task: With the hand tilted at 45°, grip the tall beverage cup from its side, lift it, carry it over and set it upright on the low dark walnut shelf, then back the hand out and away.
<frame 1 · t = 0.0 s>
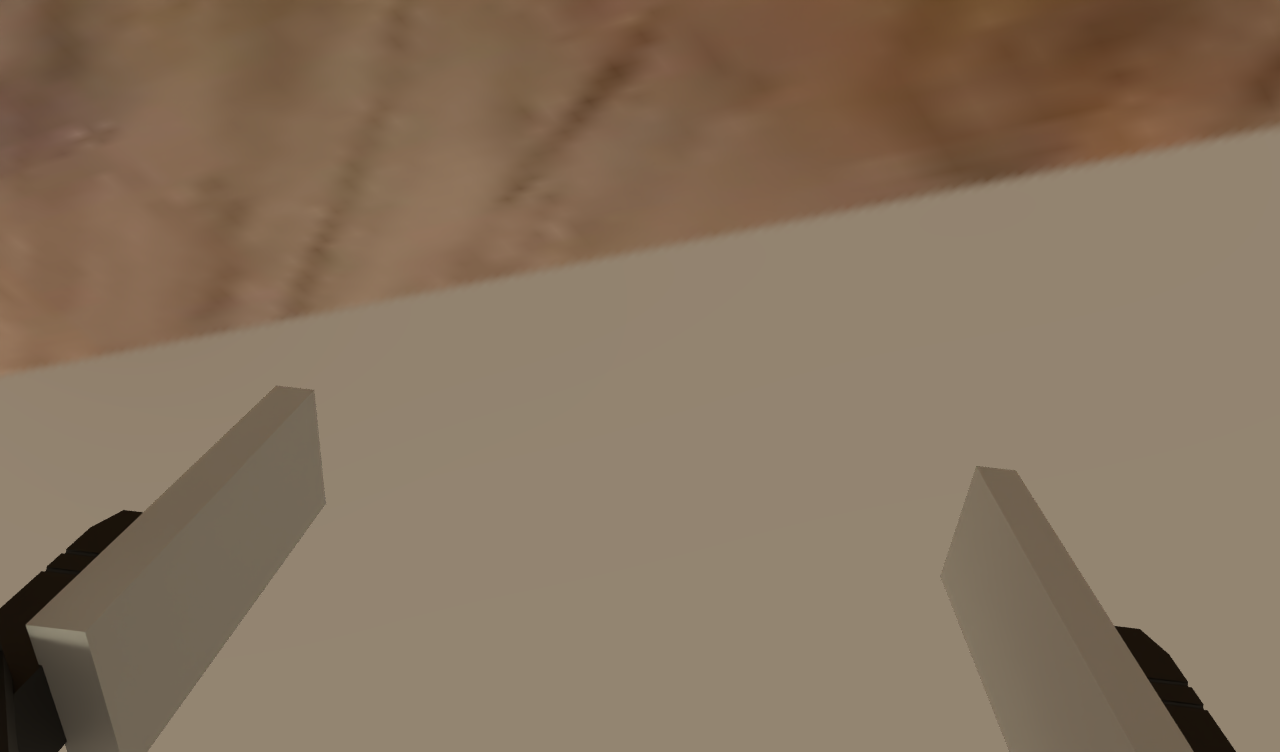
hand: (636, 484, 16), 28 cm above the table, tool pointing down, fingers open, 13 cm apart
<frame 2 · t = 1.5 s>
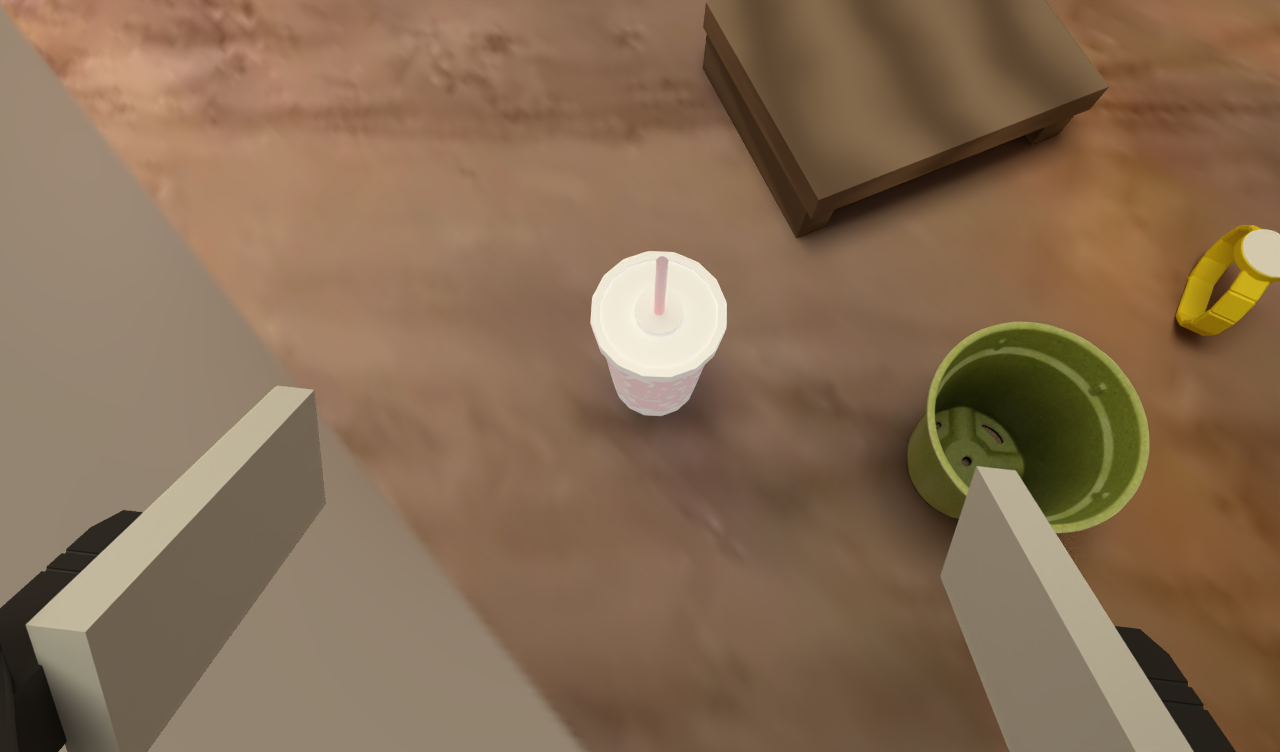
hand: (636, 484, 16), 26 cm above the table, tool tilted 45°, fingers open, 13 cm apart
plant pot: (960, 465, 43), on the table
beverage cup: (654, 377, 45), on the table
watch: (1190, 302, 46), on the table
walnut shelf: (878, 100, 50), on the table
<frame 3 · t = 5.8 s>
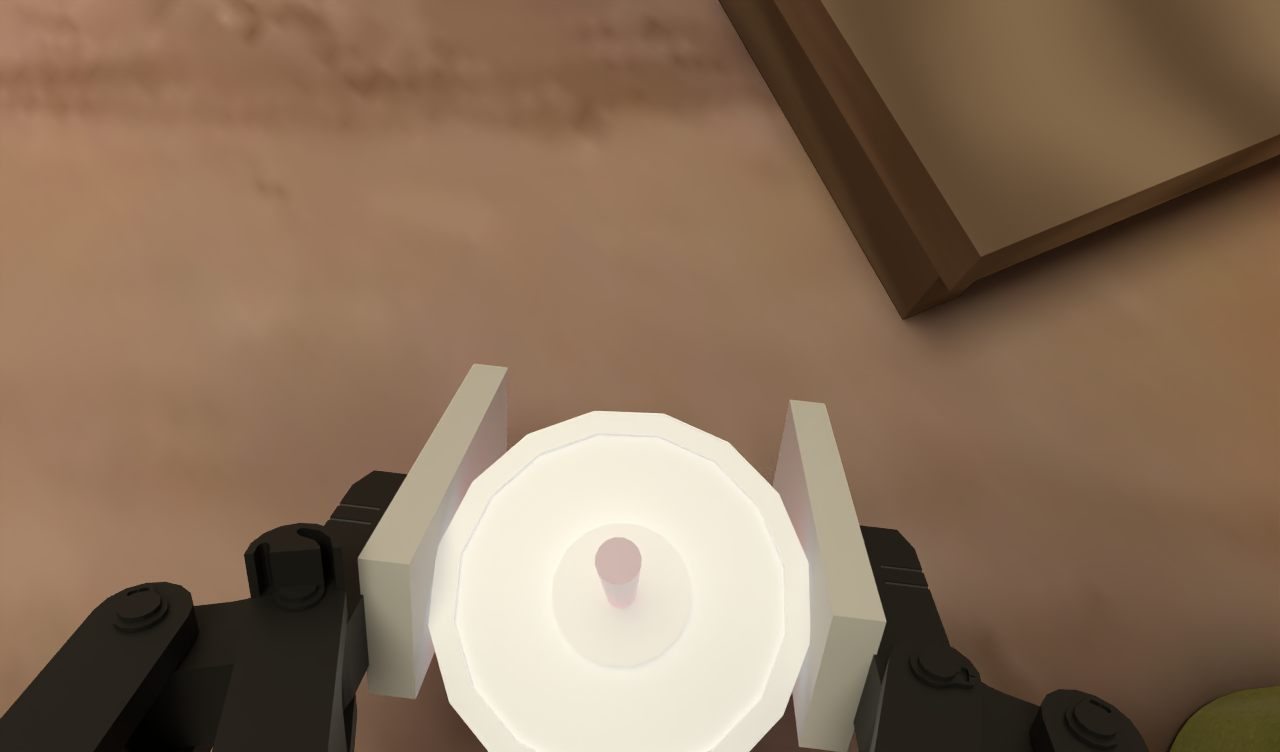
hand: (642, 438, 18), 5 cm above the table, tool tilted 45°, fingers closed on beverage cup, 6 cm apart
beverage cup: (623, 616, 22), on the table, touching gripper
walnut shelf: (1040, 58, 27), on the table
when the fingers open (11 cm above the table, at t = 11.0 s): beverage cup drops 1 cm, resting on walnut shelf.
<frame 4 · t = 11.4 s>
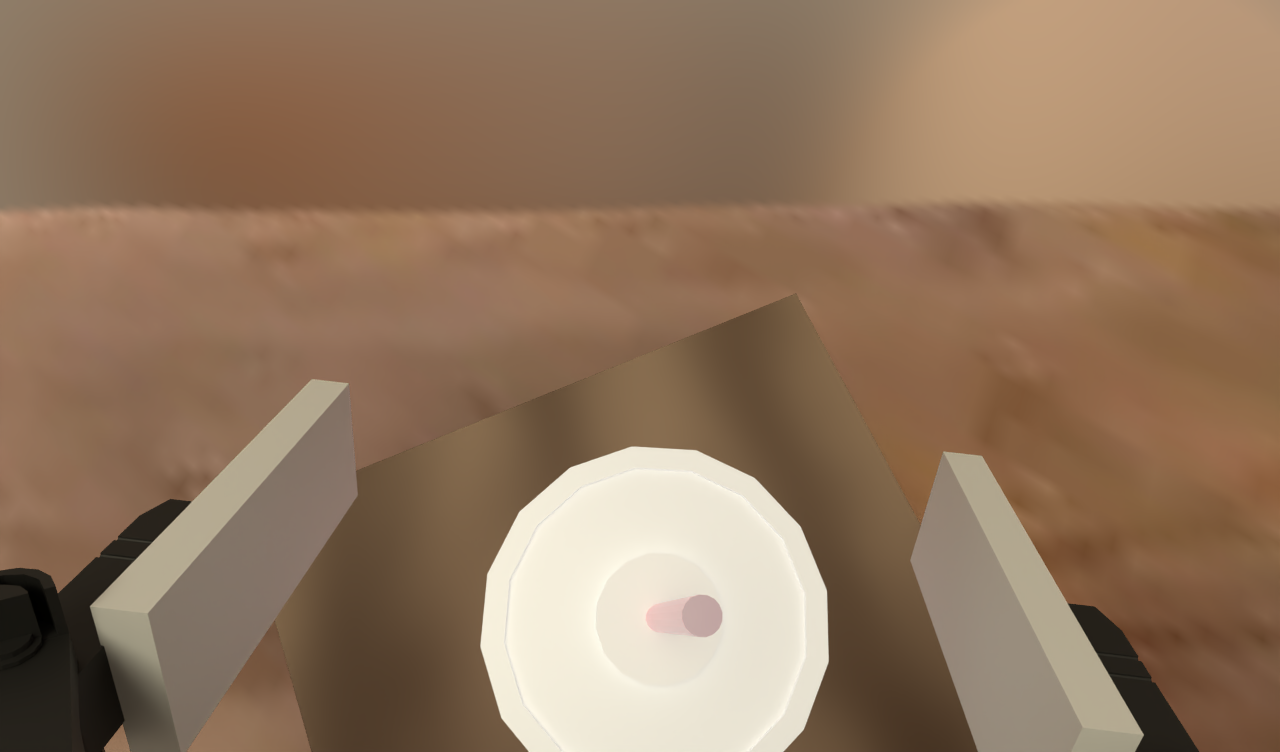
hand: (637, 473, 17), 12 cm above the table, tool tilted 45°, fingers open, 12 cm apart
beverage cup: (625, 619, 23), point 5 cm above the table, touching walnut shelf
walnut shelf: (624, 622, 27), on the table
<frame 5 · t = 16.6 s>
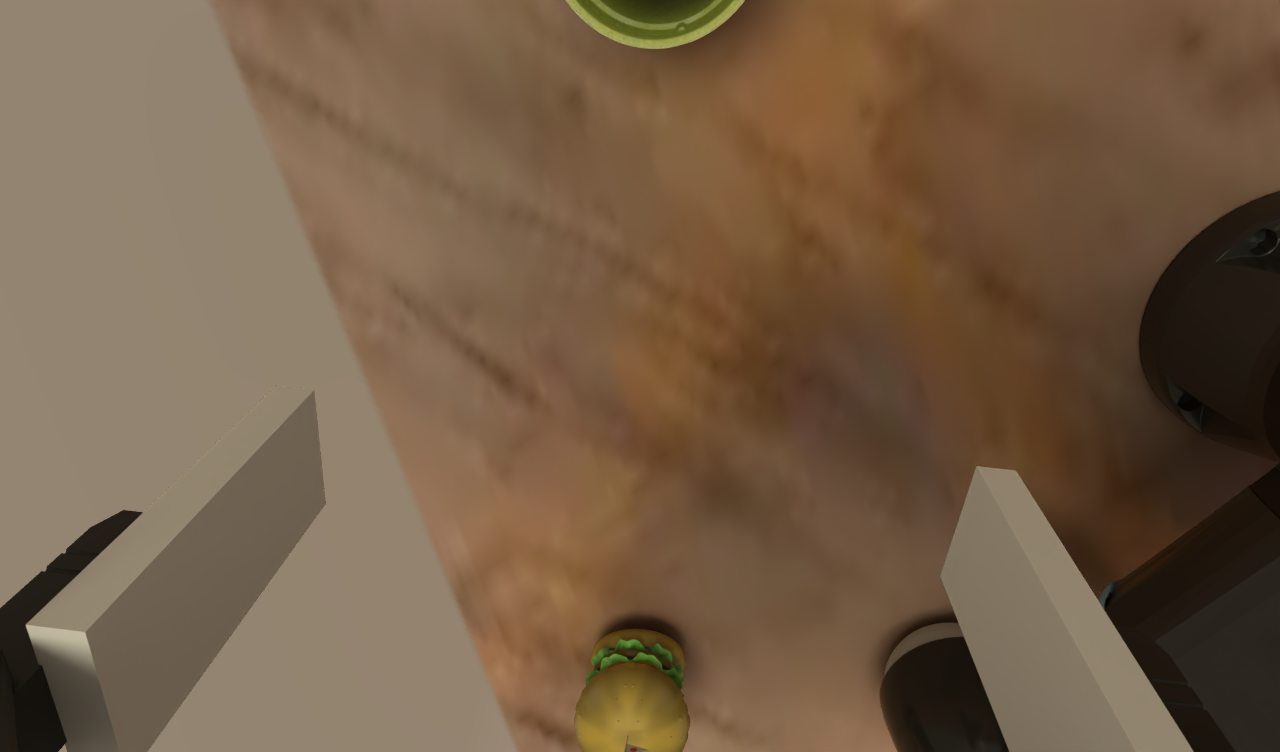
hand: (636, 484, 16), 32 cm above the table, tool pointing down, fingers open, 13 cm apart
hamburger: (640, 634, 60), on the table
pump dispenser: (941, 650, 59), on the table
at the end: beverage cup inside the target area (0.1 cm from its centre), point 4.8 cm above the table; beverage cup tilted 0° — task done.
